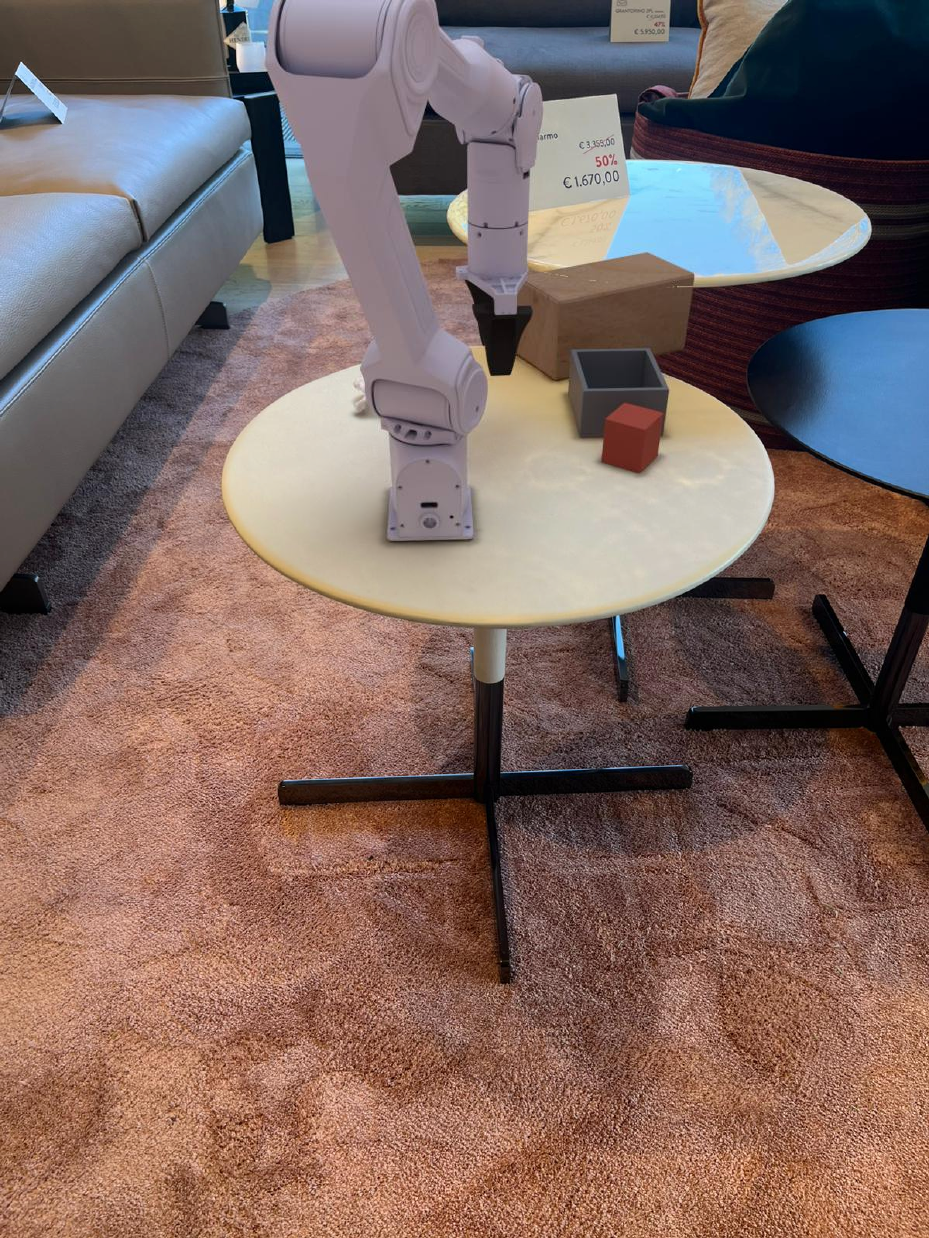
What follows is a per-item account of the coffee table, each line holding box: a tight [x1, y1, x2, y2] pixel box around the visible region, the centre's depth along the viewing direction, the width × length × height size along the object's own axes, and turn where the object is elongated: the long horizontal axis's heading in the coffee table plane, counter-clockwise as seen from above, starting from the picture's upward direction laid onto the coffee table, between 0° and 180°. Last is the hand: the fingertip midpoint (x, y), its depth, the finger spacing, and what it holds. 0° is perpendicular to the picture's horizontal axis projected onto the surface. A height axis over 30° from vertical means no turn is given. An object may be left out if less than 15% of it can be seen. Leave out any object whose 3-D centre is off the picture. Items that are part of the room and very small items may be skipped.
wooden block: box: [516, 251, 695, 381], centre depth 117 cm, size 10×10×20 cm
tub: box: [567, 348, 670, 439], centre depth 104 cm, size 11×9×6 cm
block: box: [600, 403, 664, 474], centre depth 96 cm, size 4×4×5 cm
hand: (495, 359), depth 95 cm, fingers open, 7 cm apart
